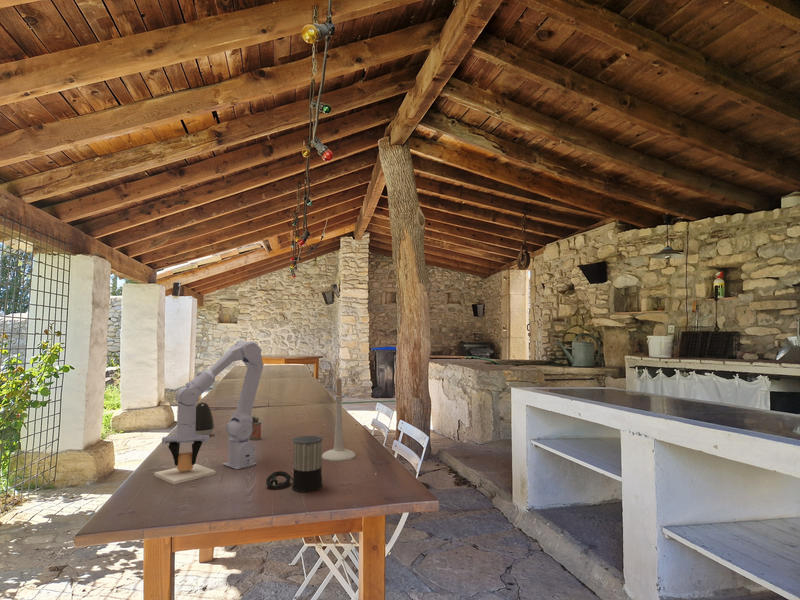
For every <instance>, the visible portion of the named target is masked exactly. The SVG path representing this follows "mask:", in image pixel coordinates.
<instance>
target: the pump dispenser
mask: <svg viewBox="0 0 800 600" xmlns="http://www.w3.org/2000/svg"><path fill="white" fill-rule="evenodd" d="M214 422H215V421H214V417H213V413H212V410H211V408H210V406H209V404H208V403H207V402H197V404H196V430H195V435H211V434H212V433H213V430H214V428H215V423H214Z"/></svg>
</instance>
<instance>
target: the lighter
mask: <svg viewBox="0 0 800 600" xmlns="http://www.w3.org/2000/svg"><path fill="white" fill-rule="evenodd" d="M259 418H260V417H258V416H255V415H254V416H253V415H252V419H253V422H252V428H253V431H252V434H251V436H250V438H249V439H250V441H253V440H254V441H261V440H262V437H261V435H262V429H261V428H262V421H259V420H260V419H259ZM260 439H261V440H260Z"/></svg>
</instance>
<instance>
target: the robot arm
mask: <svg viewBox="0 0 800 600" xmlns="http://www.w3.org/2000/svg"><path fill="white" fill-rule="evenodd" d="M262 351H263V349H262V348H261V347H260V346H259V344H258V343H257V342H255V341H252V340H251V341H246V340H240V341H237V342H236V343H235V344H234V345H232V346H231V347H230V348H229V349H228V350H227V351H226V352H225V353H224V354H223V355H222V356H220V358H219V359H218V360H217V361H216V362H214V364H213V365H211V366H210V368H209V369H208V370H207V369H203V370H202V371H198V372H196V376H195V377H193V378H192V380H190V381H189V382H186V383H185V386H183V387H180V388H179V389H178V390H177V391H176V394H175V395H174V398H175V401H176V402H177V411H176V412H177V413H176V414H177V415H176V416H177V417H176V418H177V419H176V435H173V436H169V435H168V436H163V437H162V438H161V444H162V445H165V444H168V450H169V451H170V452H171V455H172V458H173V461H174V462H173V463H174V466H175V467H177V462H178V454H179V453H180V449H181V448H180V446H181V443H183V444H184V443H192V444H191V452H192V465H194V464H197V458H198V454H199V452H200V450H201V448H202V447H201V446H202V445H203V443H204V442H205V443H209V442H210V437H211V436H210V435H211V434H210V435H195V430H196V406H197V403H198V401H199V399H200V396H202V394H203V393H205V392H206V391H207V390H208V389H209V388H210V387H211V386H212V385H213V384H214V383H216V376H218V375H219V374H221V372H223V371H224V370H225V369H226V368H227V367H229V366H230V365H231V364H233V362H237V361H242V363H244V365H245V366H246V368H247V369H246V373H245V375H244V379H243V383H242V387H241V391H240V394H239V399H238V402H237V406H236V409H235V411H234V412H233V413H232V415H231V417H230V420H229V421H227V424H226V427H225V431H226V434H228V440H227V442H228V446H227V448H228V449H227V451H228V452H227V453H228V454H227V461H226V462H223V463H222V465H223V466H226V467H229V468H232V469H235V470H240V469H241V470H242V469H243V468H248V467H253V466H256V465H257V464H258V463H257V462H255V459H256V458H255V457H256V455H255V453H256V452H255V451H256V447H255V445H254V443H253V442H252V441H251V440H250V439H249V438H250V436H251V434H252V431H253V428H252V422H253V419H252V417H253V415H252V411H253V406H254V403H255V400H256V397H257V392H258V387H259V384H260V380H261V377H262V373H263V369H264V362H263V356H262ZM255 464H256V465H255Z"/></svg>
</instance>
